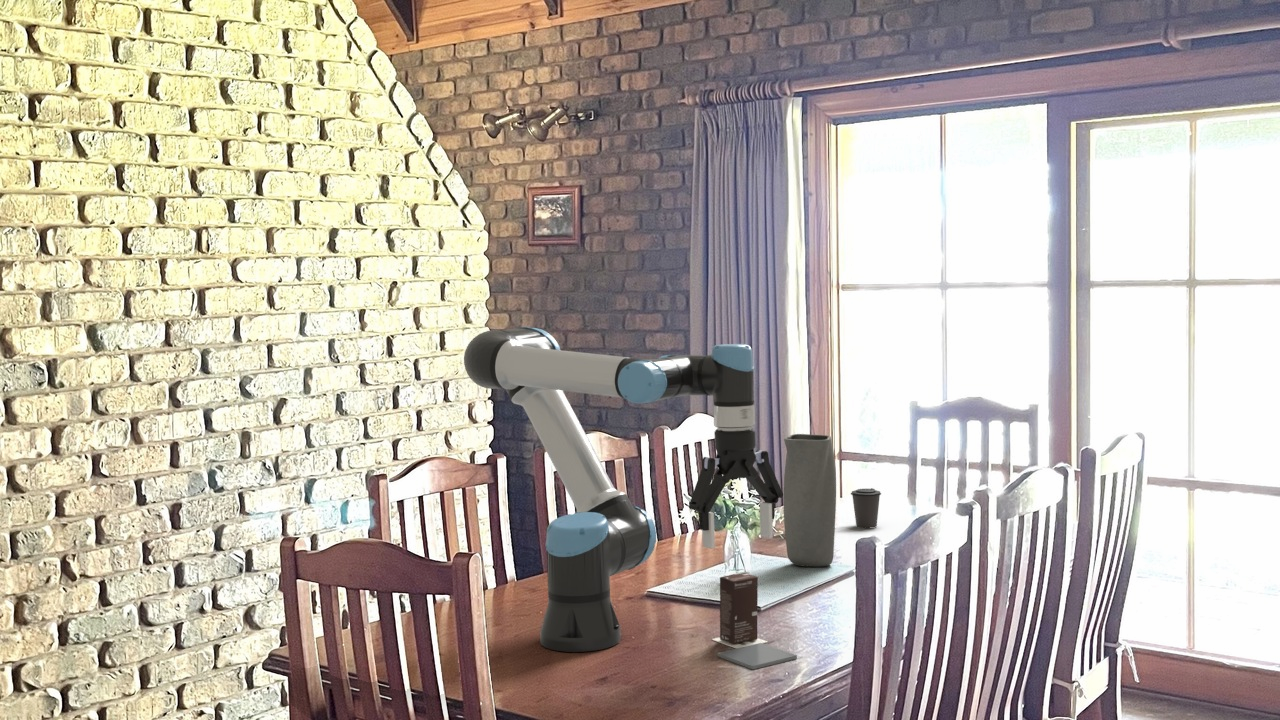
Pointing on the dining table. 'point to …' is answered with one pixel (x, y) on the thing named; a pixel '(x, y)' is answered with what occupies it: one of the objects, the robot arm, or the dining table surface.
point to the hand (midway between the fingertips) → (738, 542)
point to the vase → (809, 499)
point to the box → (738, 608)
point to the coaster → (757, 656)
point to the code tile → (742, 644)
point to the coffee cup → (866, 507)
